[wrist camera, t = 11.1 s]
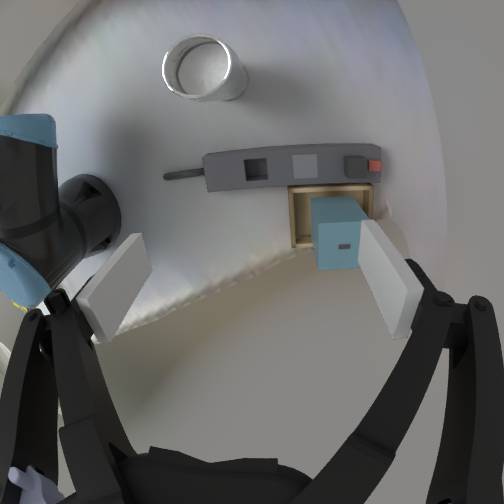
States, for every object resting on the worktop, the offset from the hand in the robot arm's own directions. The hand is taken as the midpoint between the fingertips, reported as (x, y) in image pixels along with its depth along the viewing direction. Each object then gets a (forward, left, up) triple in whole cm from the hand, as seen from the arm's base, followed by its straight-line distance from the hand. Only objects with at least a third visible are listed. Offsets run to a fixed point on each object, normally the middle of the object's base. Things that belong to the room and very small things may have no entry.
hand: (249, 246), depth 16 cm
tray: (+9, -8, -26) cm, 28 cm away
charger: (+9, -8, -25) cm, 28 cm away
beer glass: (-4, +13, -26) cm, 29 cm away
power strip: (0, 0, -26) cm, 26 cm away
